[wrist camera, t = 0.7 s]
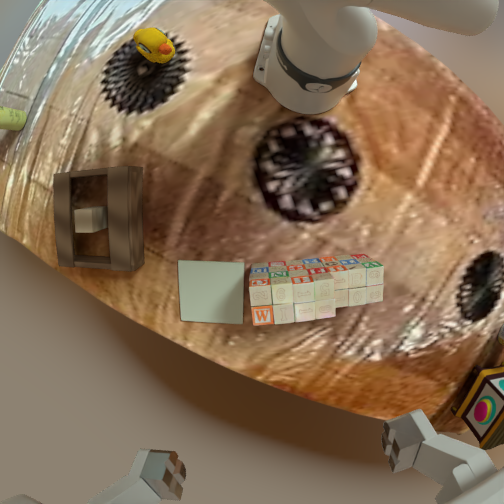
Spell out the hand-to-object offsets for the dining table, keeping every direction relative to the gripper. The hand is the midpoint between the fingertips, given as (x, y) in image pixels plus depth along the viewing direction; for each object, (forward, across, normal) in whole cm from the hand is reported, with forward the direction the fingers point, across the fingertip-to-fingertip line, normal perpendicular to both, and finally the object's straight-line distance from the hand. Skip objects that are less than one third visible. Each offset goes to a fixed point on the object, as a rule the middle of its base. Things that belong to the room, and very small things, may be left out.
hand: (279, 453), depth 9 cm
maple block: (+43, +30, -11) cm, 53 cm away
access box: (+43, +30, -11) cm, 53 cm away
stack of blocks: (+43, -7, +8) cm, 44 cm away
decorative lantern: (+43, -58, +57) cm, 92 cm away
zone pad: (+43, +11, +8) cm, 45 cm away
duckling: (+43, +12, -39) cm, 60 cm away
